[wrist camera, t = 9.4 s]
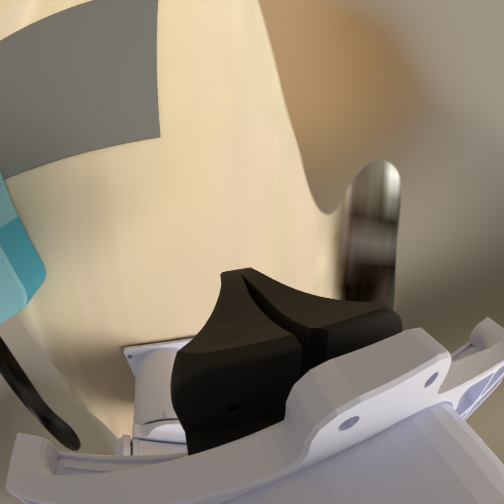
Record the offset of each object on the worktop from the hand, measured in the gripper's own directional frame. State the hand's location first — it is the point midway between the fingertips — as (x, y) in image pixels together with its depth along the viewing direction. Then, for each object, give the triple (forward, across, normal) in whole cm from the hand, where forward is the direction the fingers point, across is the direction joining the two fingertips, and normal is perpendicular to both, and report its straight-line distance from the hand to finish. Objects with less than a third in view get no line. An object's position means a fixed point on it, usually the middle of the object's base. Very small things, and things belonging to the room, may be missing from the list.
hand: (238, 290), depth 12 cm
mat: (+10, +14, -14) cm, 23 cm away
